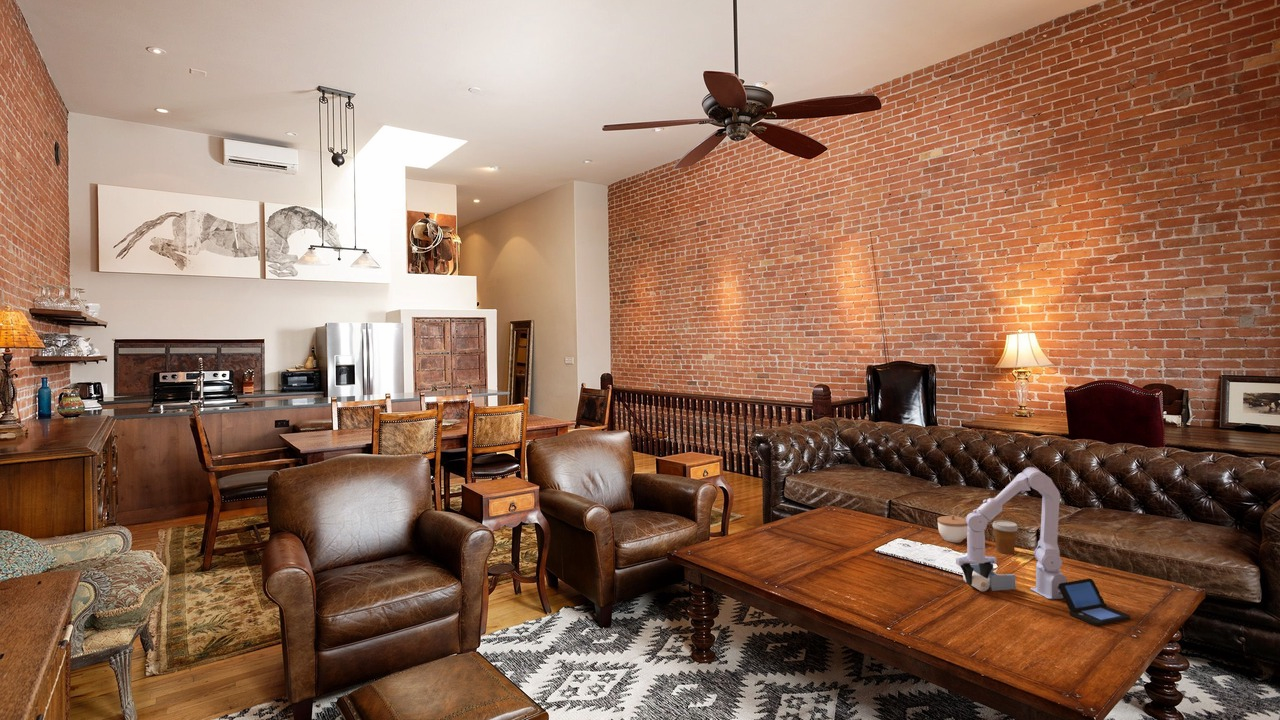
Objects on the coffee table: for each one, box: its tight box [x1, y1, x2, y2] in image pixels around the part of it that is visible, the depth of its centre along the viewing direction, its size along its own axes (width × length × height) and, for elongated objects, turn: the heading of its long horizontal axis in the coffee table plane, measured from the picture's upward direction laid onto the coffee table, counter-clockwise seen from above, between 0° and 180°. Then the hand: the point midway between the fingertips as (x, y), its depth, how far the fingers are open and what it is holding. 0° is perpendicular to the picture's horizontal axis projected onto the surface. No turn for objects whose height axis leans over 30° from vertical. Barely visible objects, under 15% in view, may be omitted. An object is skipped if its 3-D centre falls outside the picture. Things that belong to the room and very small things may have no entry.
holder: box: [970, 563, 1017, 592], centre depth 237 cm, size 14×9×5 cm, turn 6°
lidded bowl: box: [937, 514, 968, 543], centre depth 286 cm, size 13×13×11 cm
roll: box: [962, 571, 990, 592], centre depth 233 cm, size 8×5×5 cm, turn 6°
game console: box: [1058, 578, 1131, 627], centre depth 209 cm, size 16×14×9 cm
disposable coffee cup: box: [991, 520, 1019, 555], centre depth 269 cm, size 10×10×12 cm
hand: (976, 583), depth 233 cm, fingers closed on roll, 5 cm apart
